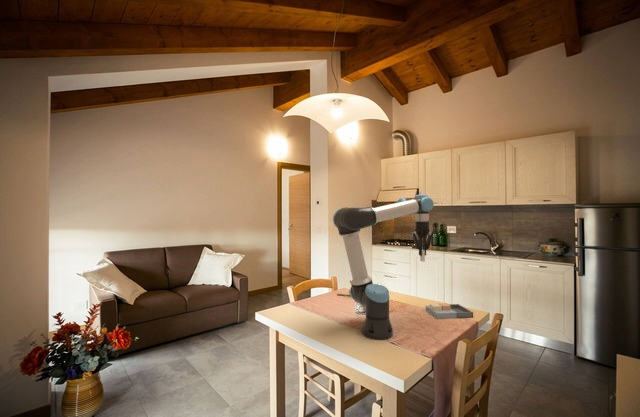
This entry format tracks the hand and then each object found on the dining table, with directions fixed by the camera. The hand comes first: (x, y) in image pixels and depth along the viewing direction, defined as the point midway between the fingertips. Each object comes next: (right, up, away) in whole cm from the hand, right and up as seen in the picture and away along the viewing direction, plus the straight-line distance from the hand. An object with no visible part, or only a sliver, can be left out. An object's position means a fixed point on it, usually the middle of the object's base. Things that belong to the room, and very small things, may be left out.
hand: (422, 261), depth 177 cm
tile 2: (+14, -29, +1) cm, 32 cm away
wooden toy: (-38, -32, +38) cm, 63 cm away
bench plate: (+11, -32, +1) cm, 33 cm away
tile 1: (+8, -29, +1) cm, 30 cm away
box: (+22, -32, +2) cm, 38 cm away
